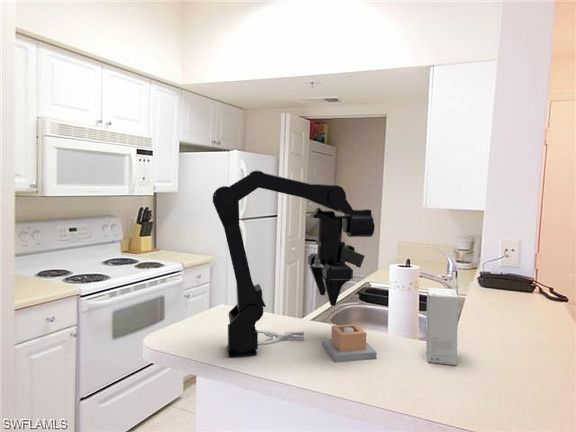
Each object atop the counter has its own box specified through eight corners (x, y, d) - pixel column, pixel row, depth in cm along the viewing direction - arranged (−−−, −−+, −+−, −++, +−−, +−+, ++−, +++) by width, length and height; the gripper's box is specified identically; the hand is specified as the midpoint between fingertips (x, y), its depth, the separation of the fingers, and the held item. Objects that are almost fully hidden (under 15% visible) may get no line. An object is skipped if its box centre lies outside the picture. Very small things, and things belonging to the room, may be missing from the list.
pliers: (247, 326, 113) (303, 327, 113) (247, 332, 114) (303, 333, 114) (243, 340, 104) (304, 341, 104) (243, 346, 104) (304, 347, 104)
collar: (339, 351, 96) (340, 334, 96) (331, 341, 103) (331, 325, 102) (366, 349, 98) (366, 333, 97) (355, 339, 104) (356, 323, 104)
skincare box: (456, 366, 93) (459, 297, 91) (425, 362, 95) (427, 294, 93) (453, 352, 101) (456, 288, 99) (424, 348, 103) (427, 286, 101)
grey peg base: (334, 362, 94) (335, 338, 94) (322, 345, 104) (322, 323, 104) (376, 358, 96) (377, 335, 96) (359, 342, 106) (360, 321, 106)
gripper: (376, 242, 94) (373, 310, 95) (349, 232, 112) (346, 289, 113) (328, 242, 92) (325, 312, 93) (308, 232, 110) (306, 290, 111)
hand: (327, 300), depth 103 cm, fingers open, 9 cm apart
